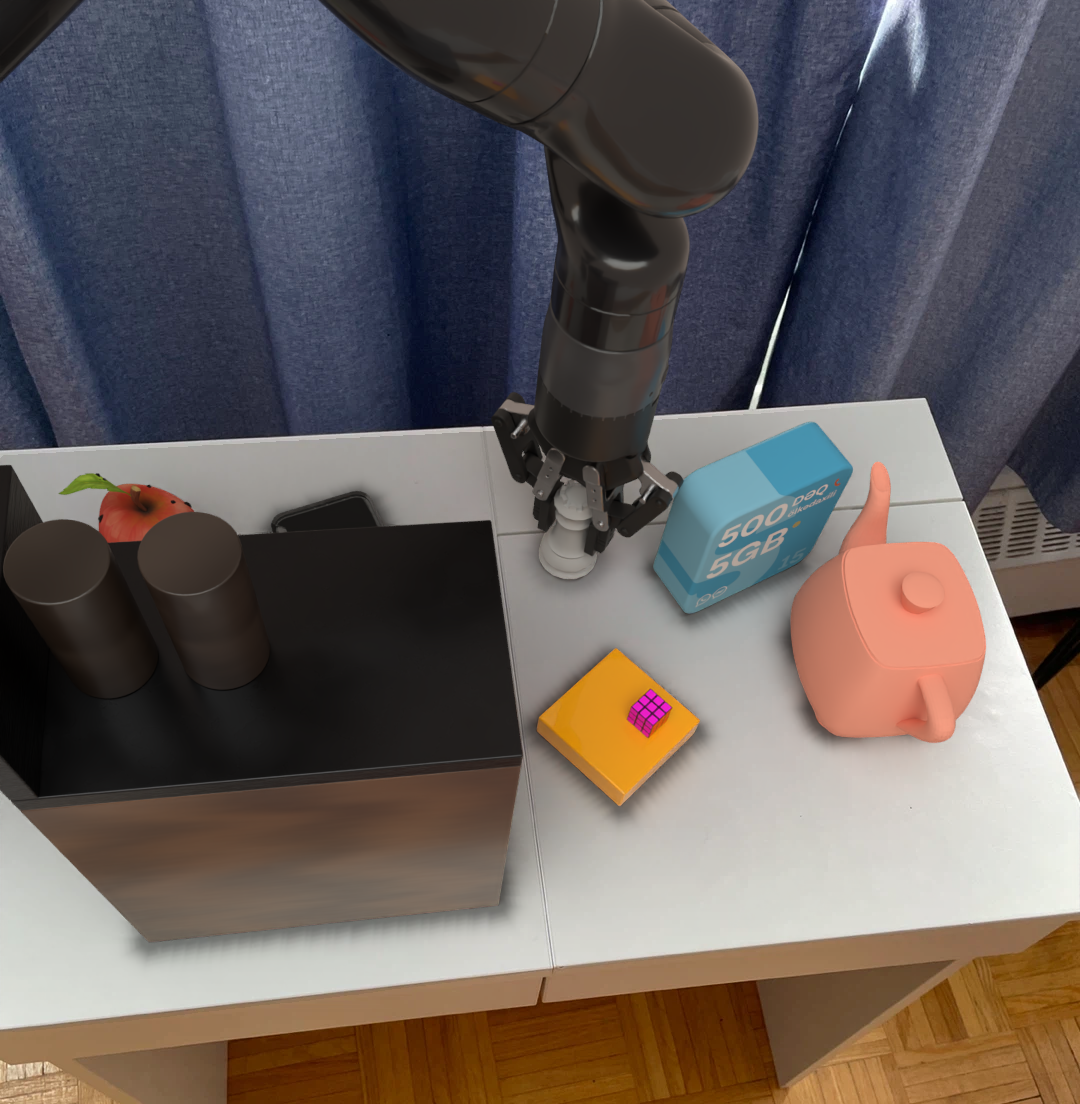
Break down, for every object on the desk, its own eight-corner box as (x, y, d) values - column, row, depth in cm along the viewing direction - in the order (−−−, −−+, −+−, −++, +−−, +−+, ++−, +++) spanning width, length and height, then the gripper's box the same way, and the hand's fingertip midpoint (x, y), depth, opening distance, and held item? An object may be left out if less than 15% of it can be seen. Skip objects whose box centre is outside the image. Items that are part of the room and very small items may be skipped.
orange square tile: (619, 807, 74) (629, 783, 70) (535, 730, 76) (540, 704, 72) (694, 733, 77) (707, 707, 73) (611, 661, 79) (620, 632, 75)
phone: (335, 683, 75) (266, 516, 81) (336, 690, 76) (268, 525, 82) (441, 647, 77) (367, 486, 83) (441, 654, 78) (368, 495, 84)
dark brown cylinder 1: (47, 672, 49) (-21, 573, 42) (106, 607, 50) (50, 502, 43) (119, 714, 48) (63, 622, 41) (176, 647, 50) (131, 547, 43)
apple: (187, 513, 82) (156, 423, 73) (226, 580, 80) (199, 496, 71) (88, 554, 80) (43, 466, 71) (125, 624, 77) (84, 543, 68)
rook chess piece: (606, 551, 83) (621, 485, 76) (578, 592, 81) (590, 529, 74) (556, 524, 84) (566, 457, 77) (526, 565, 82) (534, 499, 75)
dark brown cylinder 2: (162, 663, 49) (115, 565, 42) (216, 600, 51) (179, 495, 44) (235, 705, 49) (199, 612, 42) (287, 639, 50) (262, 539, 43)
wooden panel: (148, 942, 68) (19, 811, 47) (152, 752, 73) (38, 560, 53) (498, 905, 71) (521, 766, 50) (477, 725, 76) (490, 533, 55)
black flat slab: (19, 811, 47) (-48, 742, 41) (38, 560, 53) (-19, 465, 46) (521, 766, 50) (533, 696, 43) (490, 533, 55) (496, 439, 49)
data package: (680, 621, 81) (716, 525, 70) (648, 575, 83) (679, 475, 72) (808, 560, 84) (861, 459, 74) (774, 517, 86) (822, 413, 75)
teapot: (972, 783, 77) (1058, 709, 66) (813, 799, 76) (874, 726, 65) (895, 549, 86) (961, 449, 75) (751, 559, 84) (796, 459, 73)
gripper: (467, 353, 64) (462, 527, 80) (679, 458, 62) (632, 615, 77) (530, 277, 67) (514, 458, 83) (734, 375, 65) (678, 542, 80)
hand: (571, 533), depth 80 cm, fingers closed on rook chess piece, 3 cm apart
